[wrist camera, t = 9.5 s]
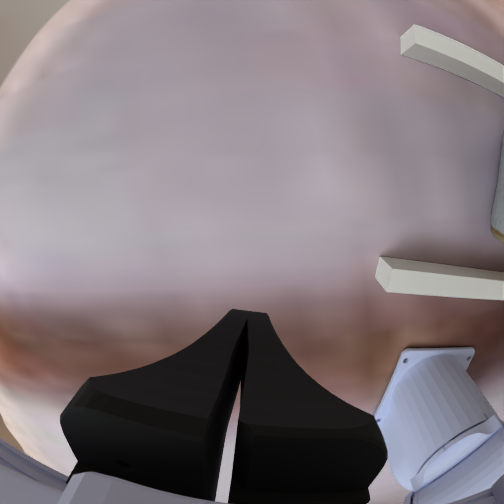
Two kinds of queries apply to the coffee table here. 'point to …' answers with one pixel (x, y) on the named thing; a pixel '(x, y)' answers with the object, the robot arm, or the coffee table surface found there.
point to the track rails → (432, 274)
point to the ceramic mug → (499, 203)
